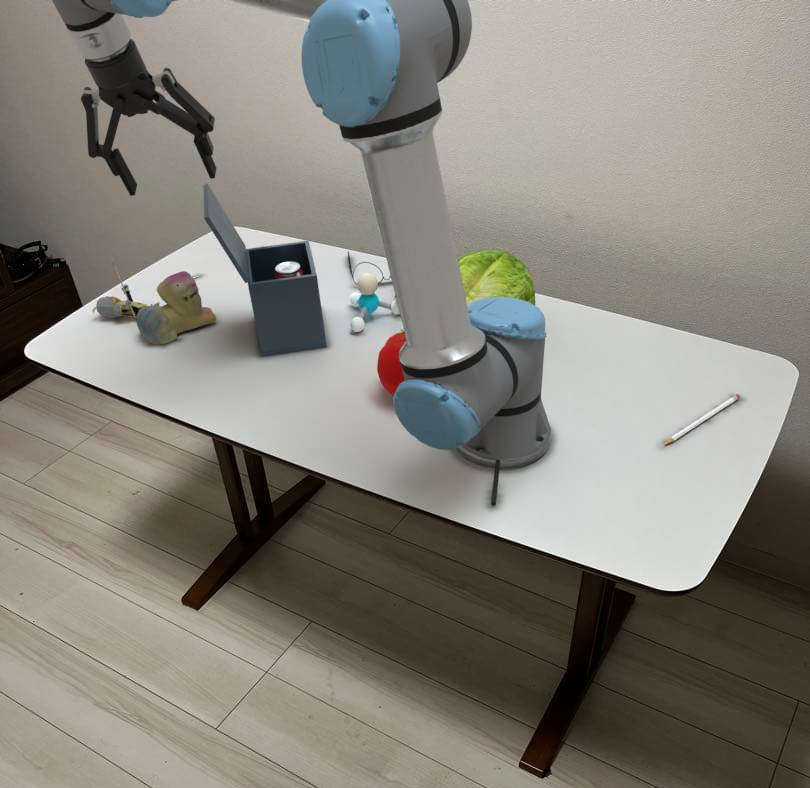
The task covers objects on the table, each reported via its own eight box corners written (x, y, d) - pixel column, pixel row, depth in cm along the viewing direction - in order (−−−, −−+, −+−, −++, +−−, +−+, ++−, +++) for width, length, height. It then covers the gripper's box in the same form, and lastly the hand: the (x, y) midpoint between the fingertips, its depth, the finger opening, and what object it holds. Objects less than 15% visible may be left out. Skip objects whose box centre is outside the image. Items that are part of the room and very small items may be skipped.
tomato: (403, 419, 140) (398, 361, 132) (366, 388, 147) (360, 331, 140) (461, 394, 144) (460, 336, 137) (423, 365, 152) (420, 308, 144)
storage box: (318, 309, 169) (308, 240, 159) (326, 347, 158) (316, 275, 148) (257, 318, 167) (244, 249, 158) (262, 356, 157) (247, 285, 147)
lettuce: (397, 357, 155) (396, 294, 143) (469, 287, 166) (474, 223, 155) (475, 396, 149) (480, 333, 138) (544, 321, 161) (555, 257, 149)
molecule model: (335, 307, 168) (330, 265, 162) (392, 294, 171) (389, 253, 165) (353, 336, 160) (348, 293, 154) (412, 322, 162) (409, 279, 156)
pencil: (739, 399, 139) (740, 395, 138) (666, 447, 131) (666, 443, 130) (735, 397, 139) (736, 393, 139) (661, 444, 131) (662, 441, 131)
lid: (207, 182, 148) (203, 185, 149) (208, 216, 138) (204, 218, 138) (245, 245, 157) (241, 247, 157) (249, 281, 147) (245, 283, 147)
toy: (174, 246, 175) (105, 240, 177) (141, 318, 163) (67, 311, 165) (180, 267, 180) (113, 262, 181) (148, 339, 168) (76, 333, 169)
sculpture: (159, 351, 160) (142, 302, 153) (136, 338, 165) (118, 290, 158) (222, 318, 167) (208, 271, 160) (197, 307, 172) (183, 260, 165)
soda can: (314, 320, 164) (306, 261, 156) (304, 334, 160) (295, 274, 152) (290, 317, 165) (280, 259, 157) (279, 331, 162) (268, 272, 153)
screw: (162, 285, 179) (164, 288, 179) (162, 284, 179) (164, 286, 179) (198, 275, 182) (199, 278, 182) (198, 274, 182) (199, 276, 182)
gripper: (20, 82, 118) (97, 211, 135) (188, 42, 114) (245, 180, 131) (32, 54, 122) (105, 183, 139) (194, 14, 118) (249, 151, 135)
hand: (173, 182), depth 135 cm, fingers open, 13 cm apart
